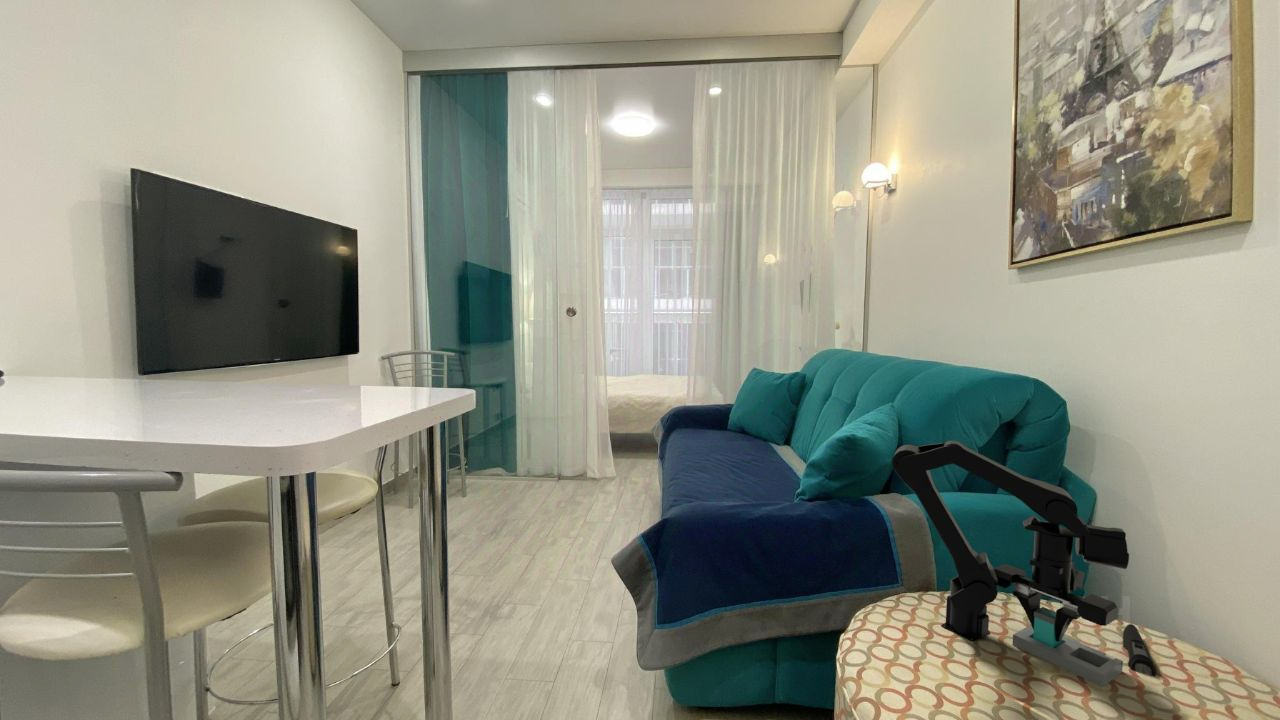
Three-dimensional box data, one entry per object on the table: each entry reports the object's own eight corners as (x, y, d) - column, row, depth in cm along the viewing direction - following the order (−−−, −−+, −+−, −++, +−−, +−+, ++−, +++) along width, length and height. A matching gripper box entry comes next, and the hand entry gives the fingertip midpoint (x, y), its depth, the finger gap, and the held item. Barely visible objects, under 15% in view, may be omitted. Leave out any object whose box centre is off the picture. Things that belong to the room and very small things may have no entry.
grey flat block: (1012, 647, 105) (1013, 633, 105) (1032, 635, 109) (1033, 622, 109) (1102, 689, 93) (1103, 674, 93) (1122, 674, 97) (1123, 659, 97)
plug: (1031, 647, 104) (1034, 611, 103) (1040, 641, 106) (1042, 606, 105) (1052, 656, 101) (1054, 619, 101) (1061, 651, 103) (1063, 615, 102)
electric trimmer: (1143, 642, 108) (1145, 626, 108) (1157, 682, 95) (1158, 664, 95) (1118, 635, 110) (1119, 620, 110) (1128, 673, 98) (1129, 656, 97)
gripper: (1133, 565, 98) (1127, 649, 99) (1019, 531, 114) (1014, 603, 115) (1107, 579, 93) (1101, 668, 94) (990, 541, 109) (986, 617, 110)
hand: (1047, 636), depth 103 cm, fingers closed on plug, 3 cm apart
